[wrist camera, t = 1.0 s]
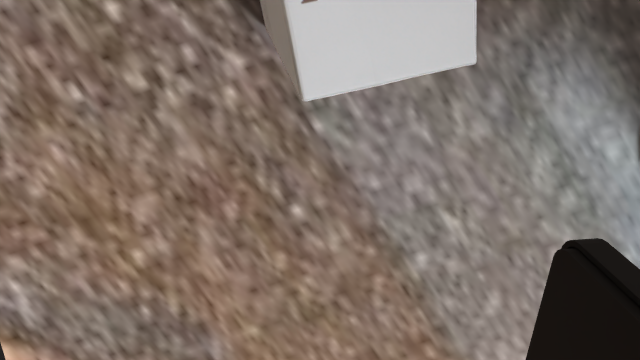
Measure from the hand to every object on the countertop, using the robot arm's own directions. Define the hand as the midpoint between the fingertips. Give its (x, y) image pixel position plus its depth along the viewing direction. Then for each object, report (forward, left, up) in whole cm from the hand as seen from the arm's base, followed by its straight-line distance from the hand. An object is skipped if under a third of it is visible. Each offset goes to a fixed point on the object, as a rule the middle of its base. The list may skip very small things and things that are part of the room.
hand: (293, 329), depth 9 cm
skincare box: (-4, -3, -21) cm, 22 cm away
